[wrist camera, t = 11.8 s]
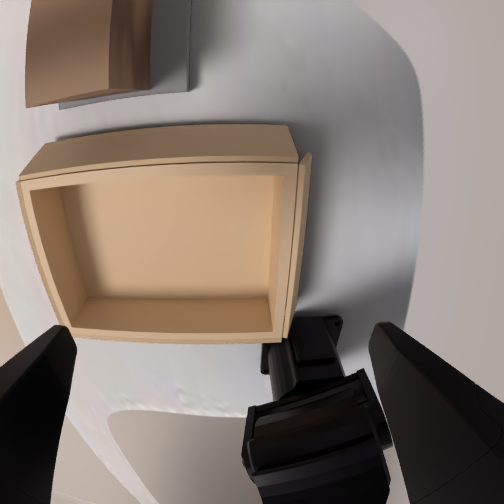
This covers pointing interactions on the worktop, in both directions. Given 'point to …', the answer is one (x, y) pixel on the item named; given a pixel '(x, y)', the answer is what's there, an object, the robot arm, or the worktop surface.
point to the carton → (170, 232)
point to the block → (86, 49)
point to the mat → (162, 52)
